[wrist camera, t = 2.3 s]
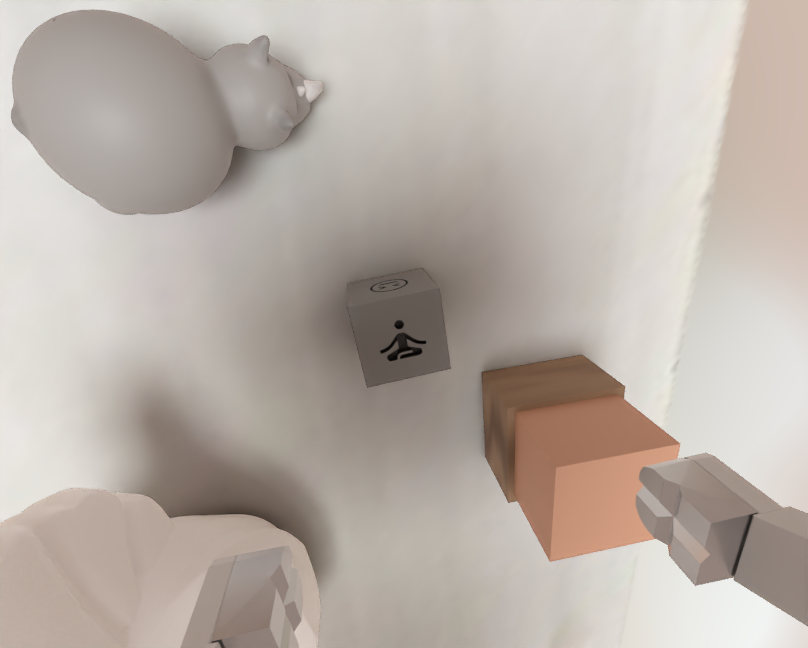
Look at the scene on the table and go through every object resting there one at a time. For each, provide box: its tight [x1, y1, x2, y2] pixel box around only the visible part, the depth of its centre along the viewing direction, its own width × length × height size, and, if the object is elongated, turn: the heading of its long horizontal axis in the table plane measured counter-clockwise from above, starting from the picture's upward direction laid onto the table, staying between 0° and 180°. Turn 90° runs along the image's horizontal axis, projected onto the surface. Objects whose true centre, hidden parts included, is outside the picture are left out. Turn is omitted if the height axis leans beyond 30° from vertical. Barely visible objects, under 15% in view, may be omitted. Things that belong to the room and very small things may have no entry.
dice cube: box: [347, 268, 451, 388], centre depth 23 cm, size 5×5×5 cm
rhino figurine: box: [11, 10, 323, 215], centre depth 17 cm, size 7×12×8 cm, turn 104°
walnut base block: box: [482, 355, 625, 503], centre depth 28 cm, size 8×8×5 cm
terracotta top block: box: [515, 394, 680, 562], centre depth 23 cm, size 7×7×5 cm
